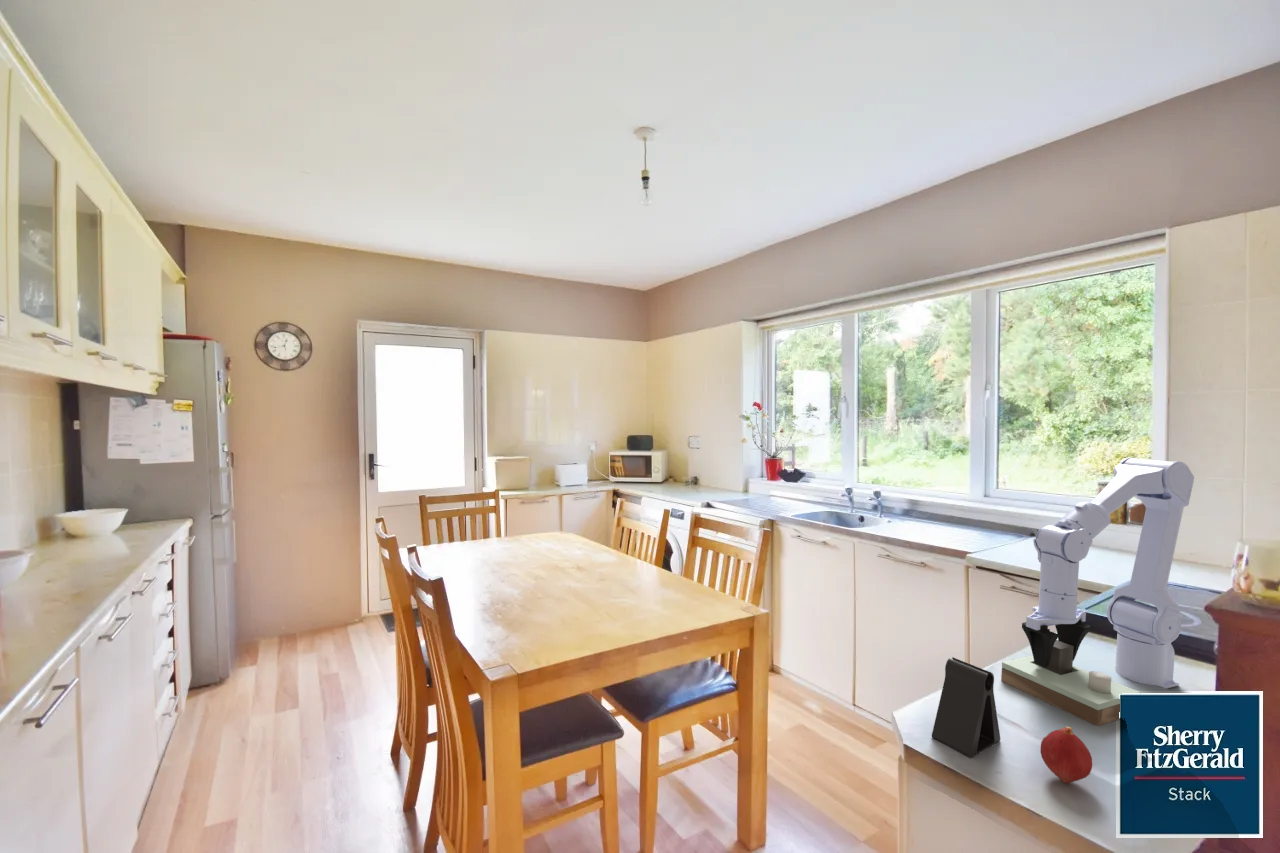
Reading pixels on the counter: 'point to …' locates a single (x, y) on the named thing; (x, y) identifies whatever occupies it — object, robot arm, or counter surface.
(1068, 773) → the onion
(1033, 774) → the counter surface
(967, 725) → the phone stand
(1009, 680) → the brown box
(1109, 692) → the lid
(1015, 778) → the counter surface
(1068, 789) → the counter surface
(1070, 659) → the block
